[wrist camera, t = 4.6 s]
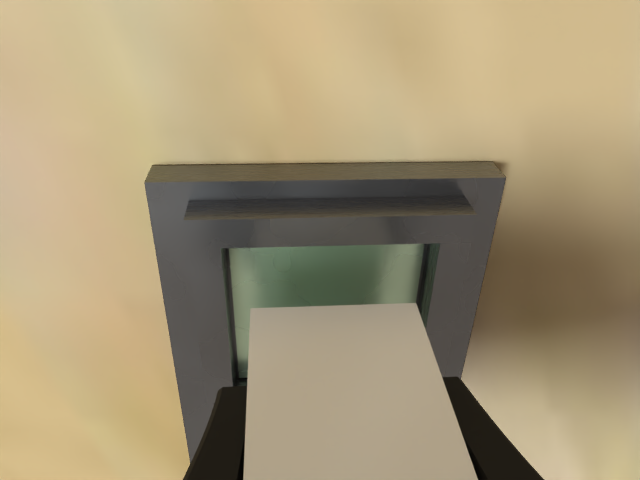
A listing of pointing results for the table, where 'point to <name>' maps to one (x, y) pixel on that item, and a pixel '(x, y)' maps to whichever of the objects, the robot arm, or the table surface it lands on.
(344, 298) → the panel
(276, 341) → the plug
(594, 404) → the table surface
